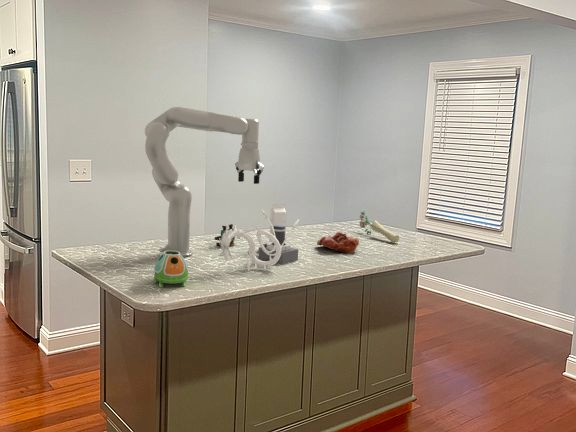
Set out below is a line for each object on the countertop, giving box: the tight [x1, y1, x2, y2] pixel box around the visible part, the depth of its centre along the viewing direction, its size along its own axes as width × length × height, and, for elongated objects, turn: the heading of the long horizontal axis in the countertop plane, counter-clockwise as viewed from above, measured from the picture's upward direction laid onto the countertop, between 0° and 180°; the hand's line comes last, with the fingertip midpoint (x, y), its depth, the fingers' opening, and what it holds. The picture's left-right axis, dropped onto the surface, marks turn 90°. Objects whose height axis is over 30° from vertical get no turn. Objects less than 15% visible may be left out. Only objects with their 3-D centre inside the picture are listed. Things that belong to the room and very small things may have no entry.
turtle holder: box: [153, 251, 189, 288], centre depth 212 cm, size 12×18×12 cm
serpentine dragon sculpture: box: [218, 208, 300, 272], centre depth 239 cm, size 43×20×25 cm, turn 118°
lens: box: [273, 225, 286, 246], centre depth 254 cm, size 5×5×10 cm
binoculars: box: [214, 223, 236, 247], centre depth 278 cm, size 9×11×10 cm
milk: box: [268, 204, 287, 242], centre depth 273 cm, size 6×6×22 cm
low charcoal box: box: [257, 241, 299, 265], centre depth 255 cm, size 11×14×7 cm
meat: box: [316, 231, 360, 254], centre depth 281 cm, size 21×21×10 cm
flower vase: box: [358, 210, 400, 244], centre depth 317 cm, size 12×12×35 cm
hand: (248, 182), depth 266 cm, fingers open, 9 cm apart
